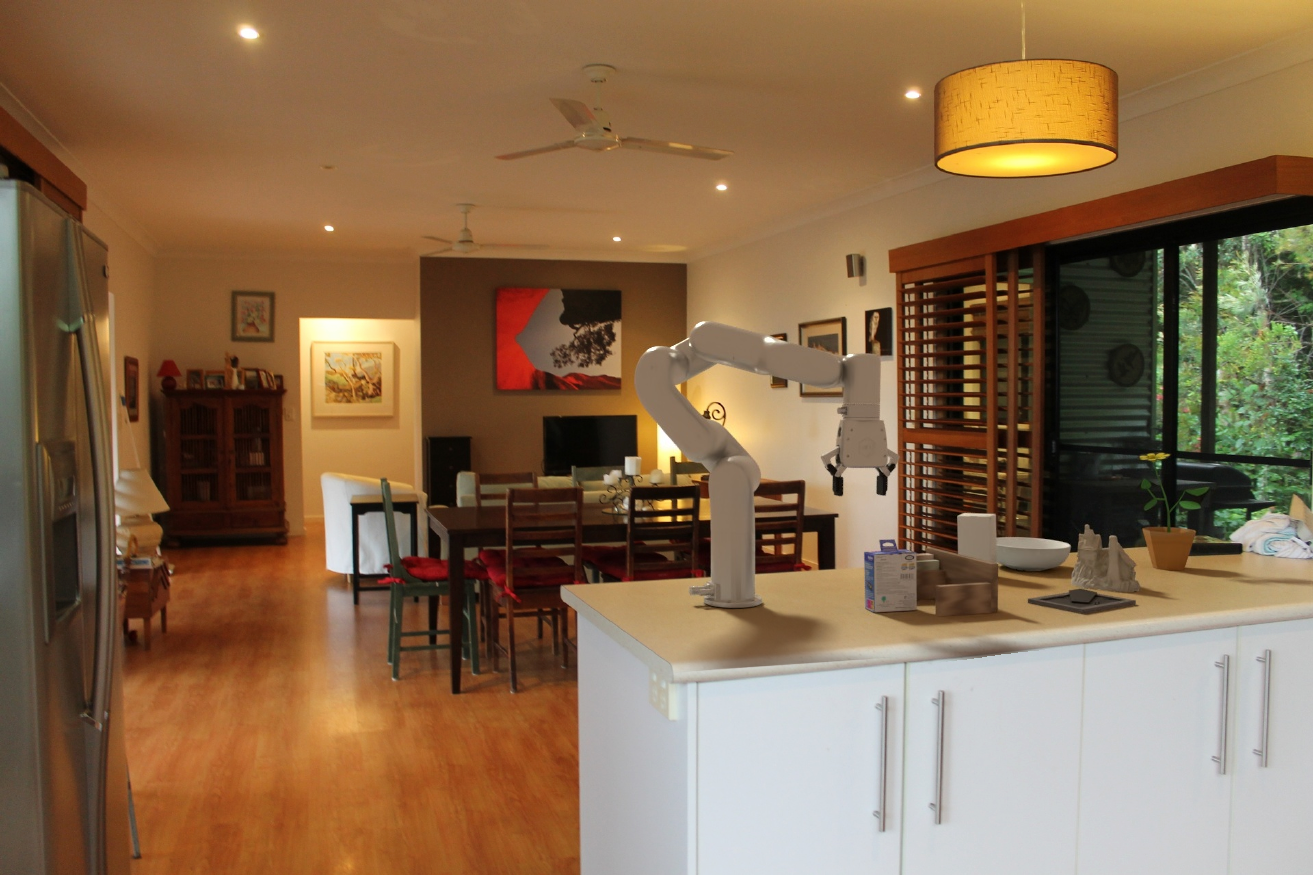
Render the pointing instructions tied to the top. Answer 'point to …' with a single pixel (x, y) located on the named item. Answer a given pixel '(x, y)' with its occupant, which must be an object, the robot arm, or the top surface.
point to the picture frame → (1081, 601)
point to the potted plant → (1169, 542)
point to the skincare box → (977, 536)
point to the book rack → (957, 582)
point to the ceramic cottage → (1103, 565)
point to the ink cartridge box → (890, 579)
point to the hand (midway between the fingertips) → (859, 495)
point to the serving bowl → (1031, 553)
